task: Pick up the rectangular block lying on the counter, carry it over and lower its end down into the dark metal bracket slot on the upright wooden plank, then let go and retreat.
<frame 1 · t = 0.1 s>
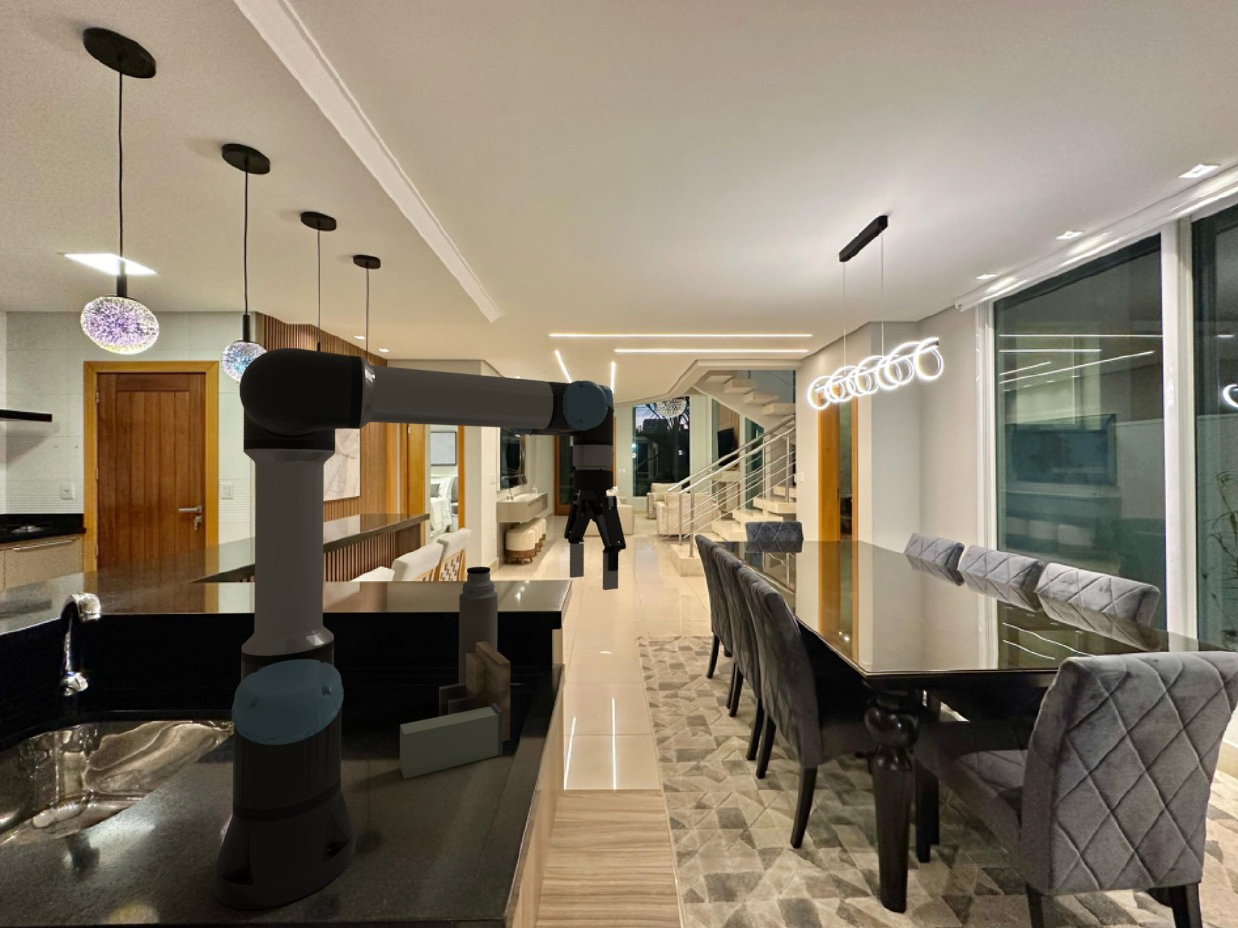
hand: (592, 582, 108), 28 cm above the counter, tool pointing down, fingers open, 13 cm apart
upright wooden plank: (460, 722, 112), on the counter
rectangular block: (452, 760, 97), on the counter
thermos bottle: (477, 699, 124), on the counter
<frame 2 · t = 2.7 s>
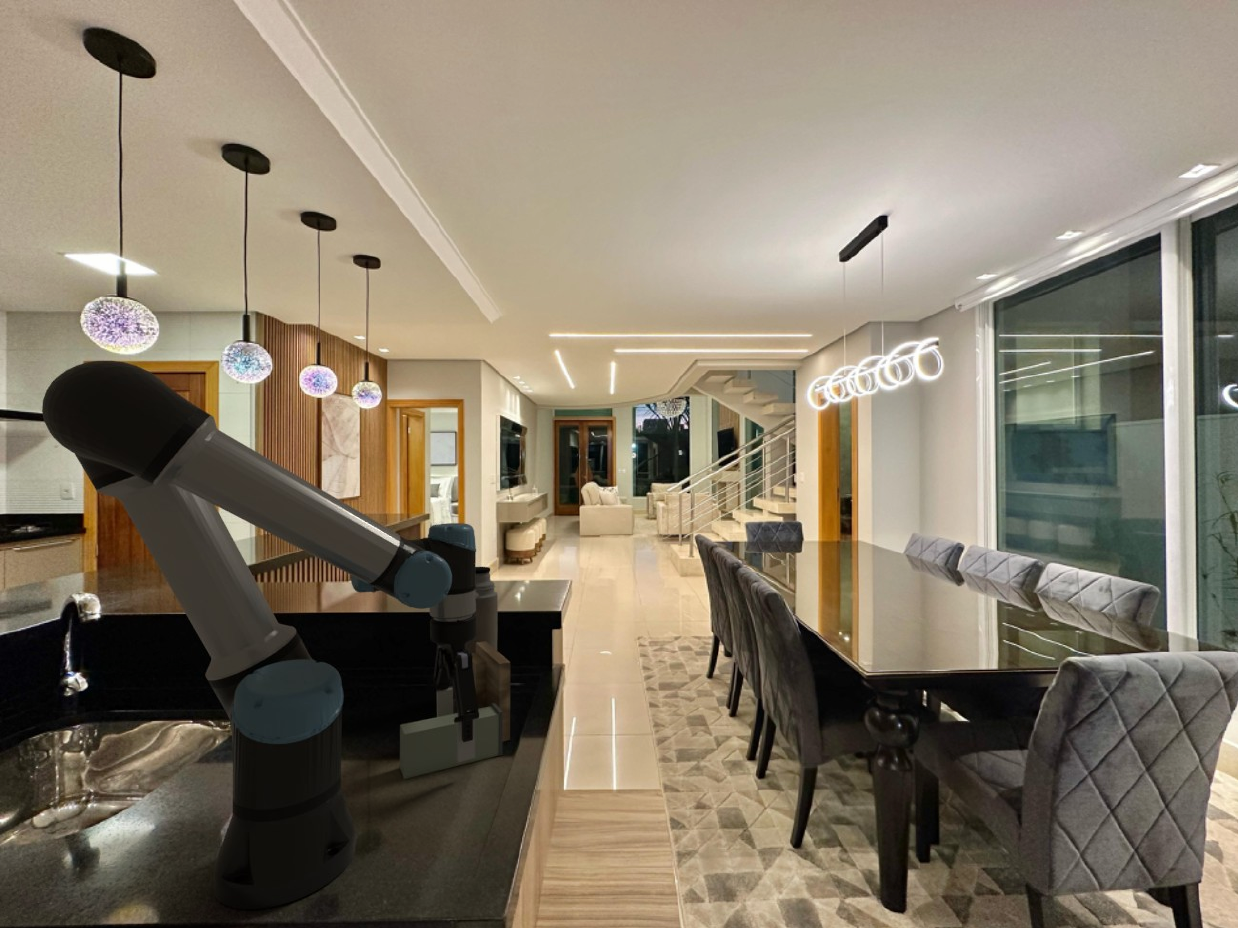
hand: (455, 741, 98), 3 cm above the counter, tool pointing down, fingers open, 13 cm apart
nothing on the counter moved.
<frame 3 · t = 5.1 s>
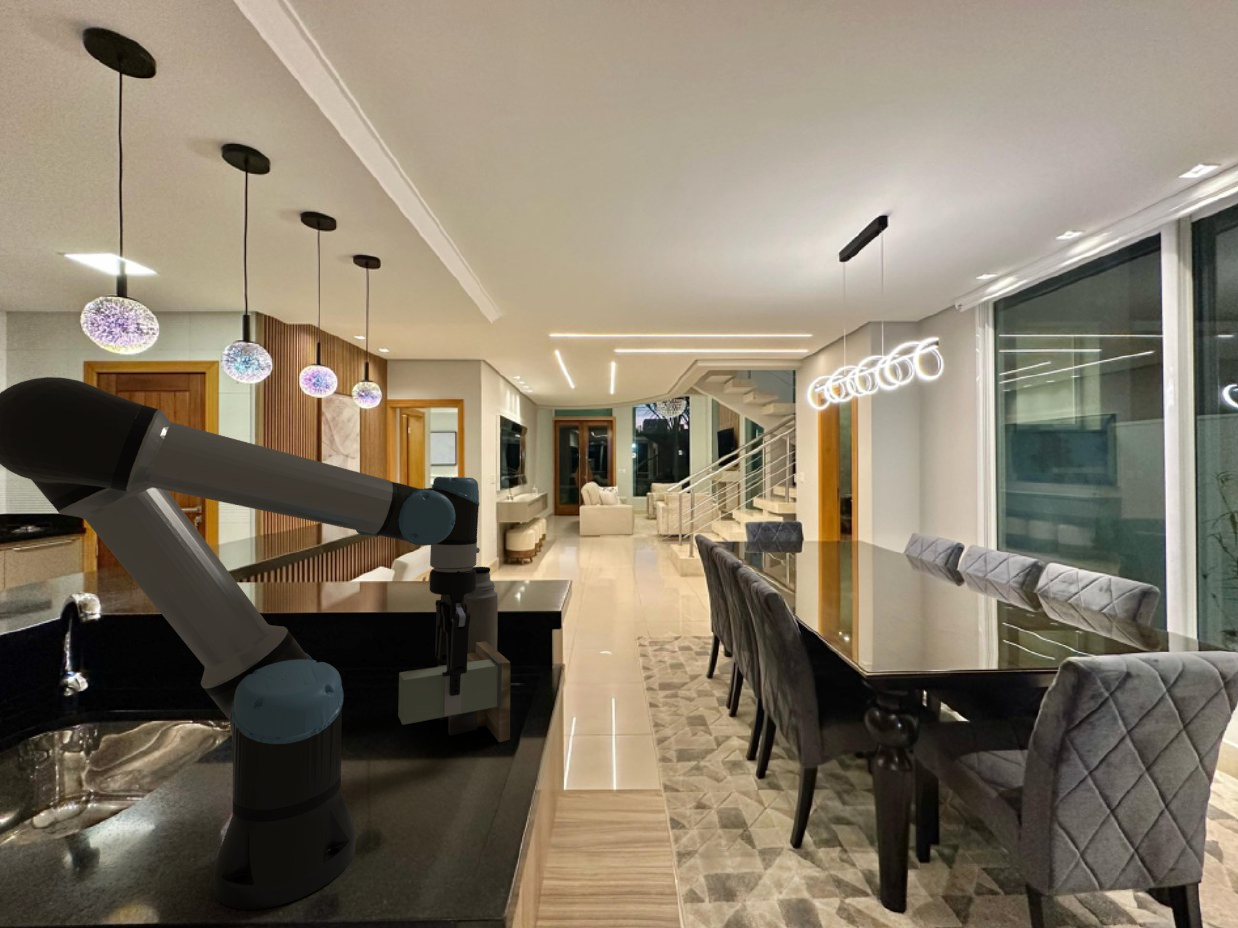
hand: (448, 708, 97), 9 cm above the counter, tool pointing down, fingers closed on rectangular block, 4 cm apart
rectangular block: (450, 710, 97), point 8 cm above the counter, touching gripper
everything else where it was.
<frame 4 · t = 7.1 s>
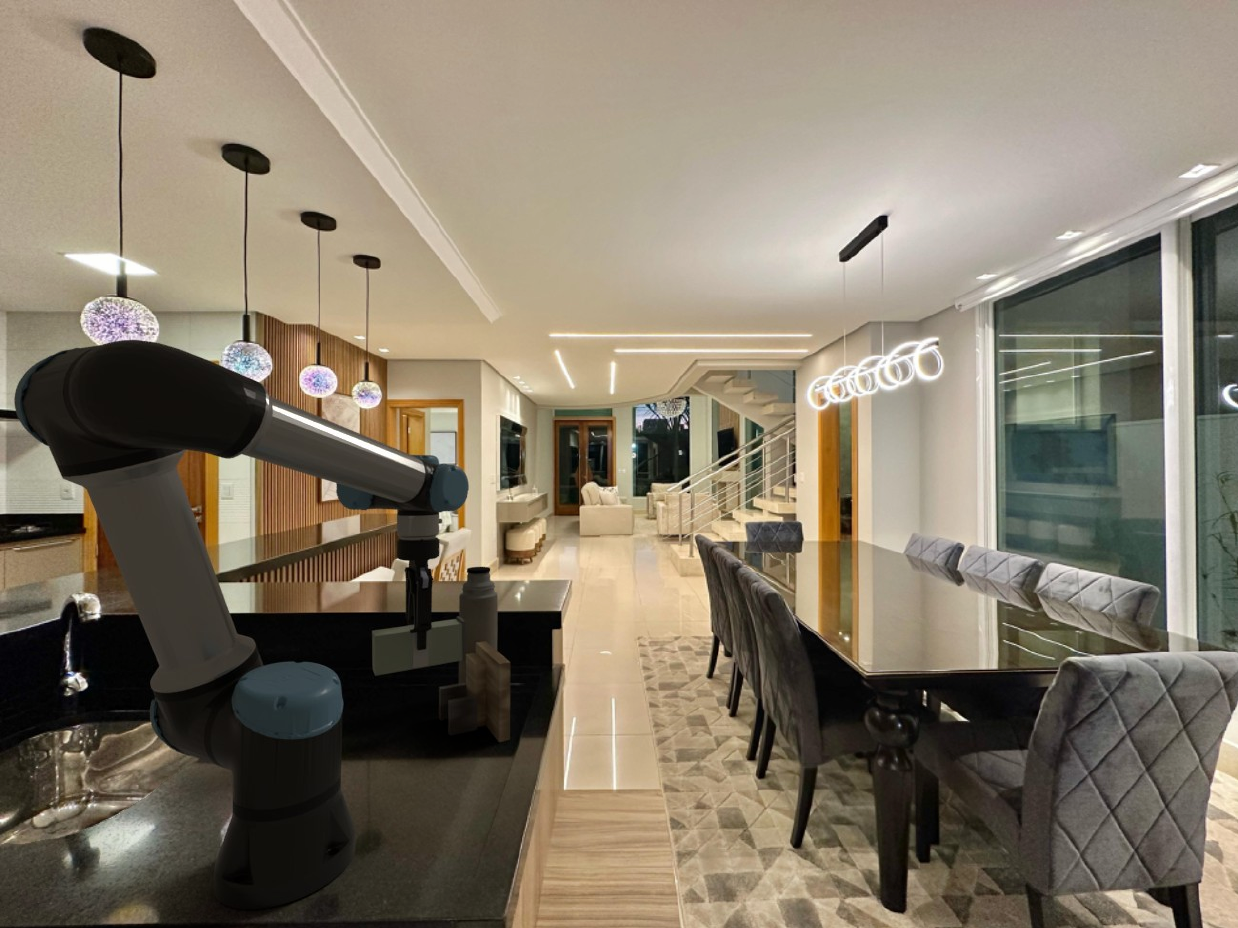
hand: (417, 662, 108), 13 cm above the counter, tool pointing down, fingers closed on rectangular block, 4 cm apart
rectangular block: (420, 664, 108), point 13 cm above the counter, touching gripper
everything else where it was.
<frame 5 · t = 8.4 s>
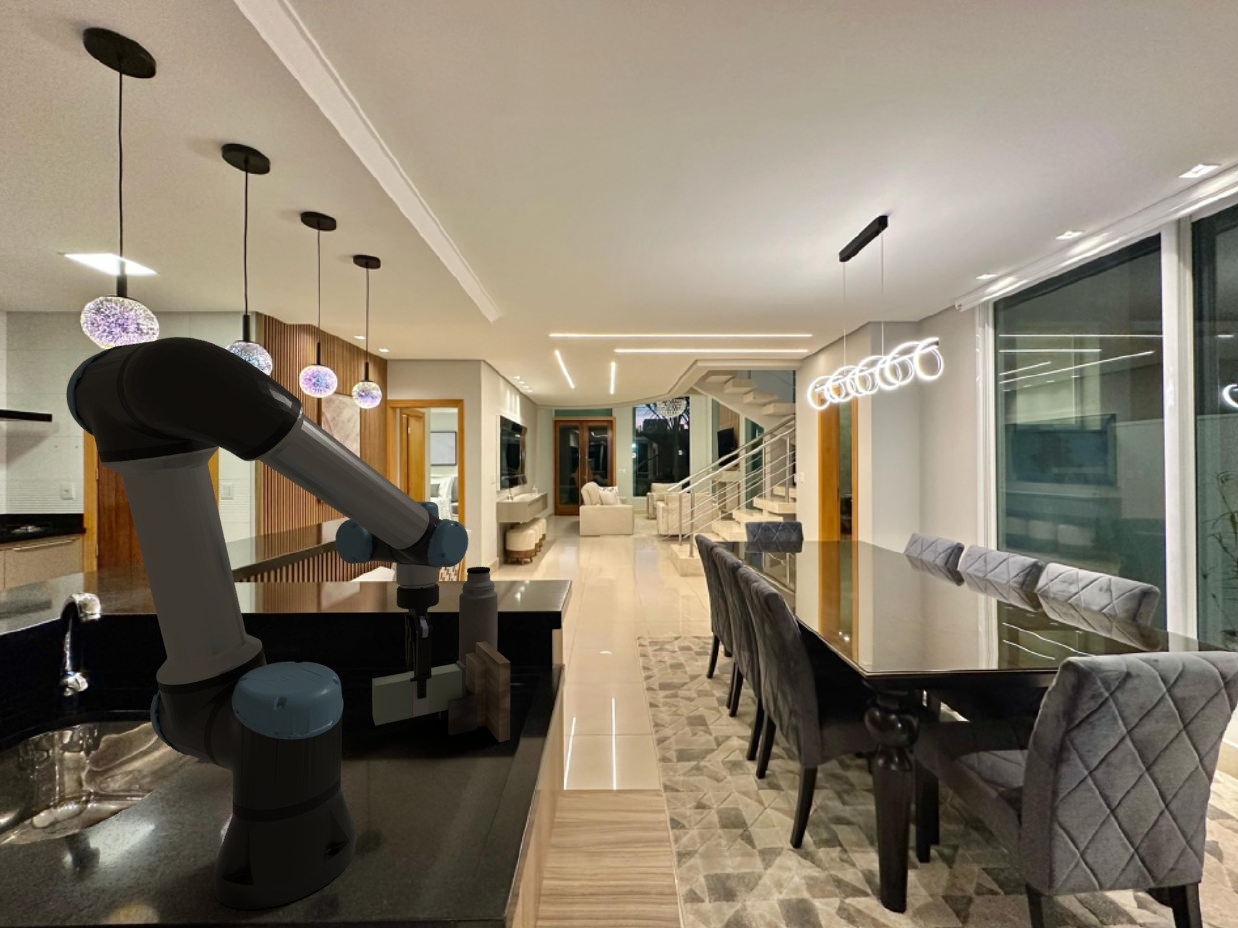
hand: (417, 709, 108), 4 cm above the counter, tool pointing down, fingers closed on rectangular block, 4 cm apart
rectangular block: (420, 711, 108), point 4 cm above the counter, touching gripper
everything else where it was.
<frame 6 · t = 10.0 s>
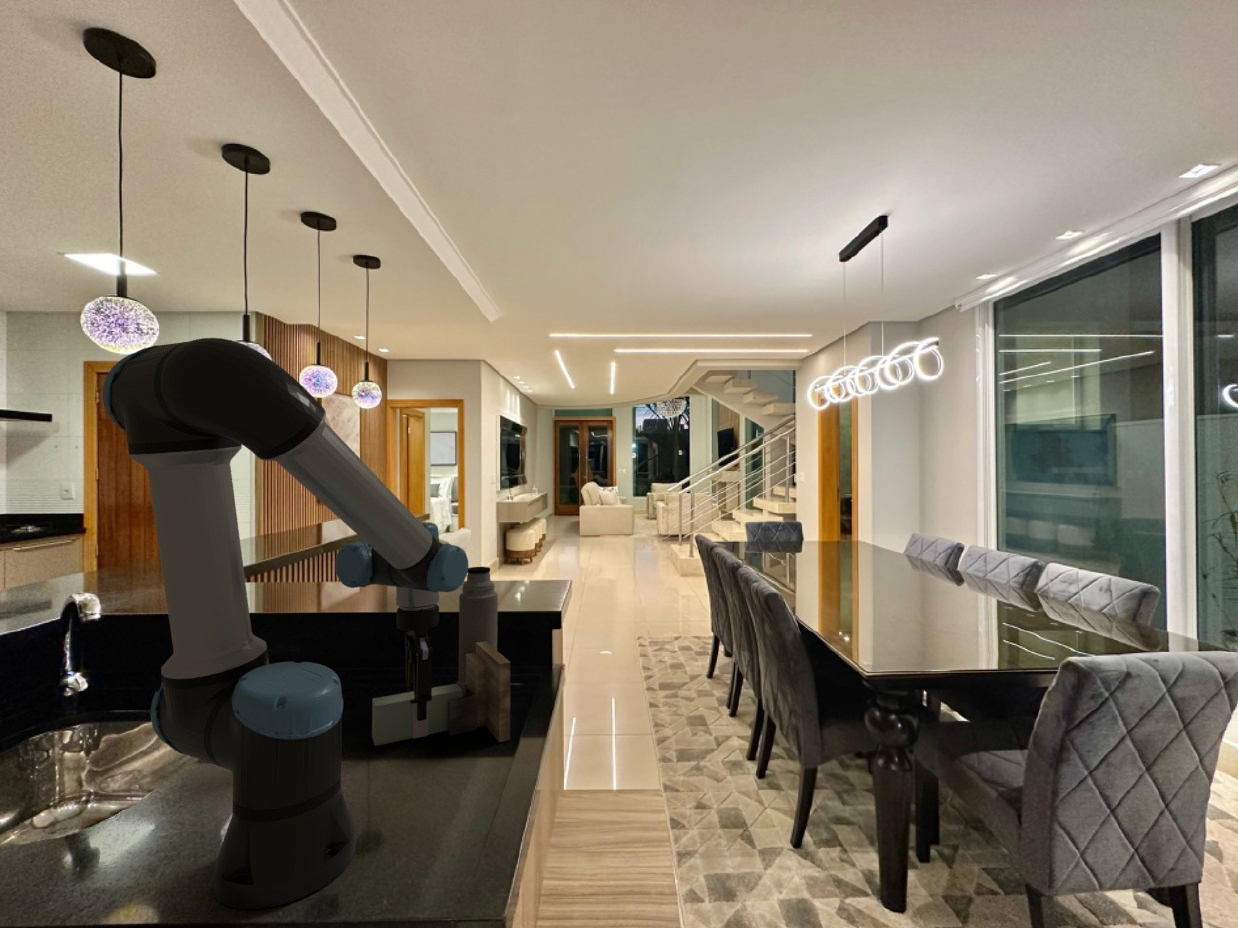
hand: (418, 730, 108), 0 cm above the counter, tool pointing down, fingers open, 4 cm apart
rectangular block: (419, 731, 108), on the counter
everything else where it was.
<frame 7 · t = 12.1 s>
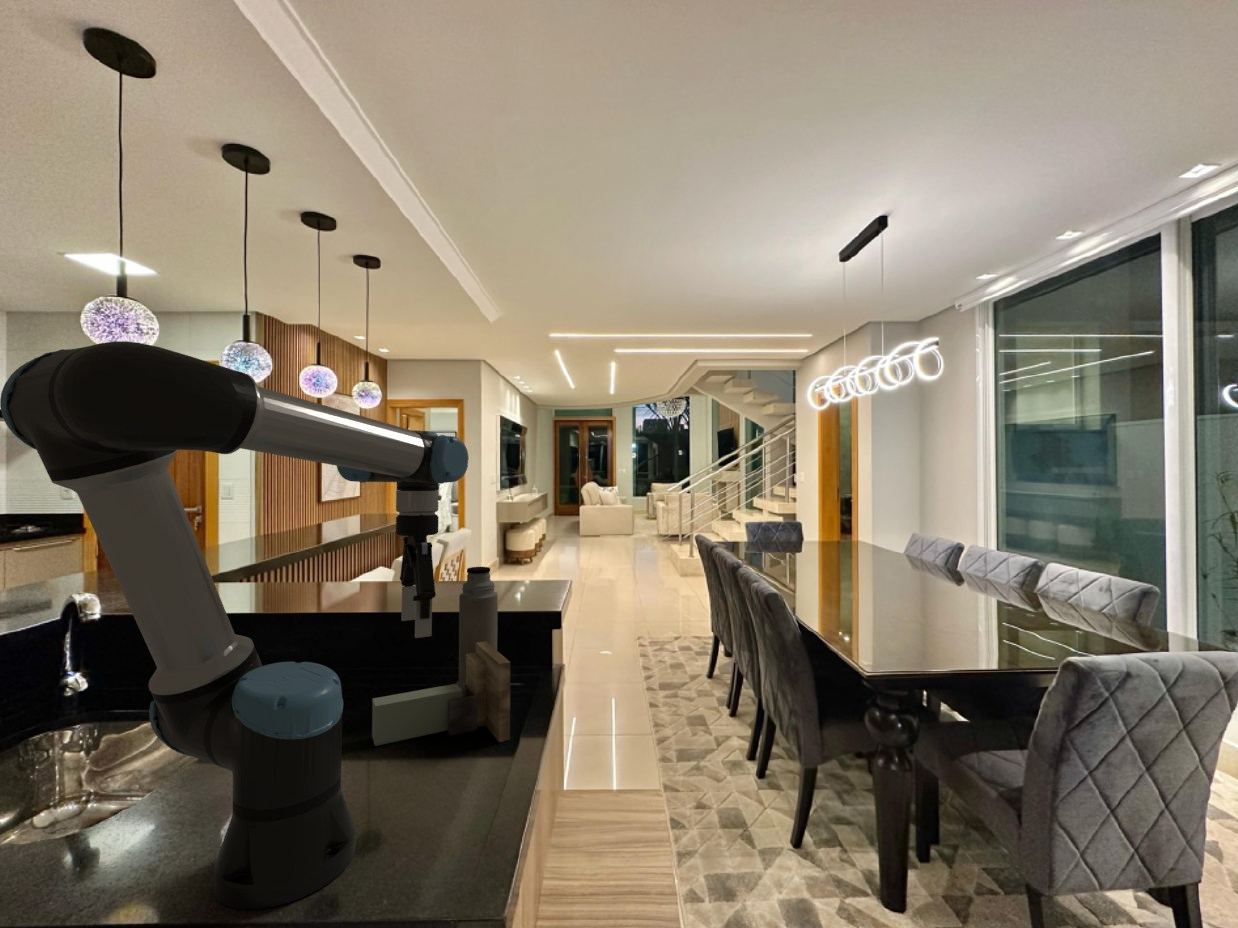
hand: (415, 627, 108), 19 cm above the counter, tool pointing down, fingers open, 13 cm apart
nothing on the counter moved.
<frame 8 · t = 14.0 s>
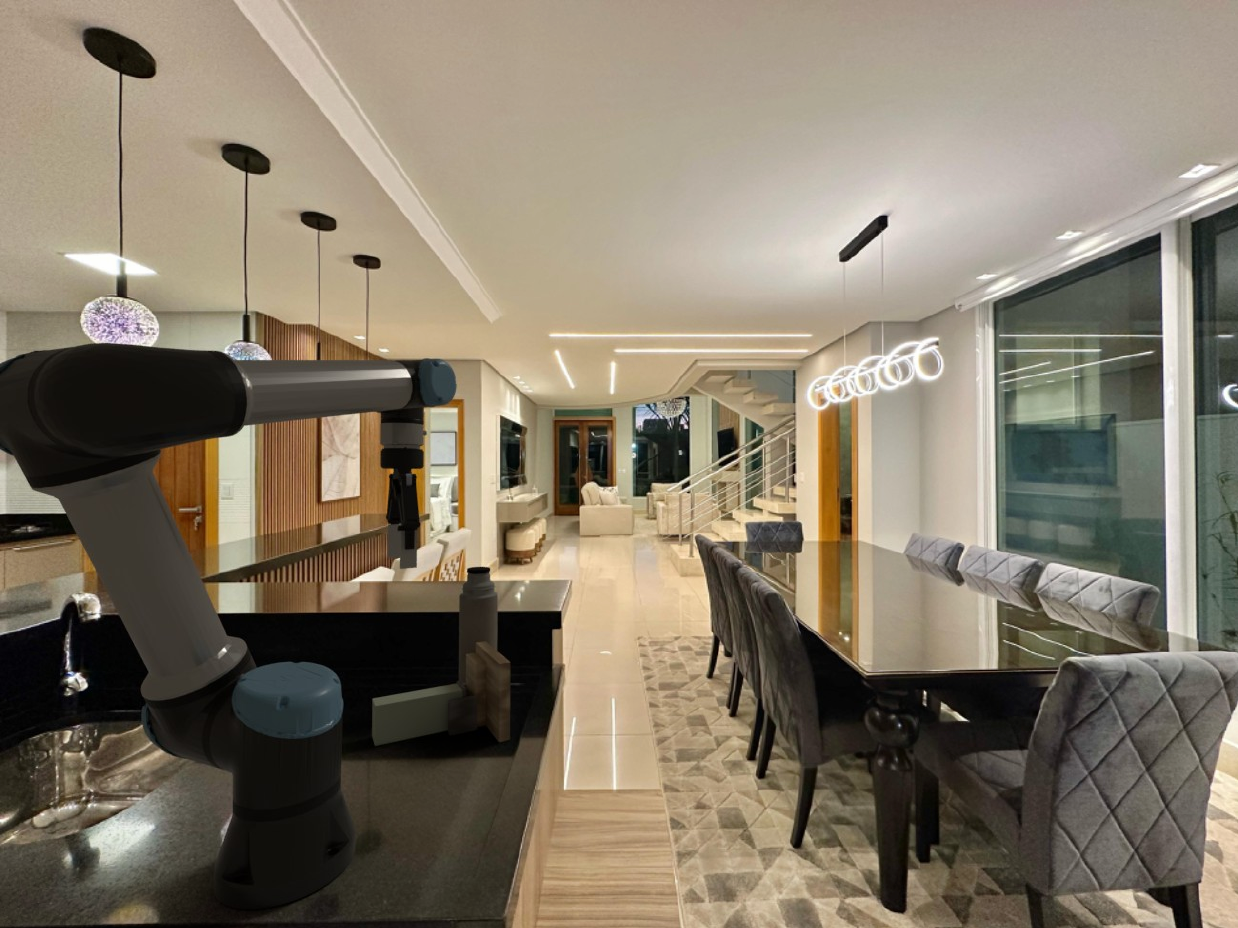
hand: (401, 562, 107), 32 cm above the counter, tool pointing down, fingers open, 13 cm apart
nothing on the counter moved.
at the end: rectangular block 0.5 cm from the target spot on the counter beside the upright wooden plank, on the counter; rectangular block tilted 0°; the gripper is holding nothing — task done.
